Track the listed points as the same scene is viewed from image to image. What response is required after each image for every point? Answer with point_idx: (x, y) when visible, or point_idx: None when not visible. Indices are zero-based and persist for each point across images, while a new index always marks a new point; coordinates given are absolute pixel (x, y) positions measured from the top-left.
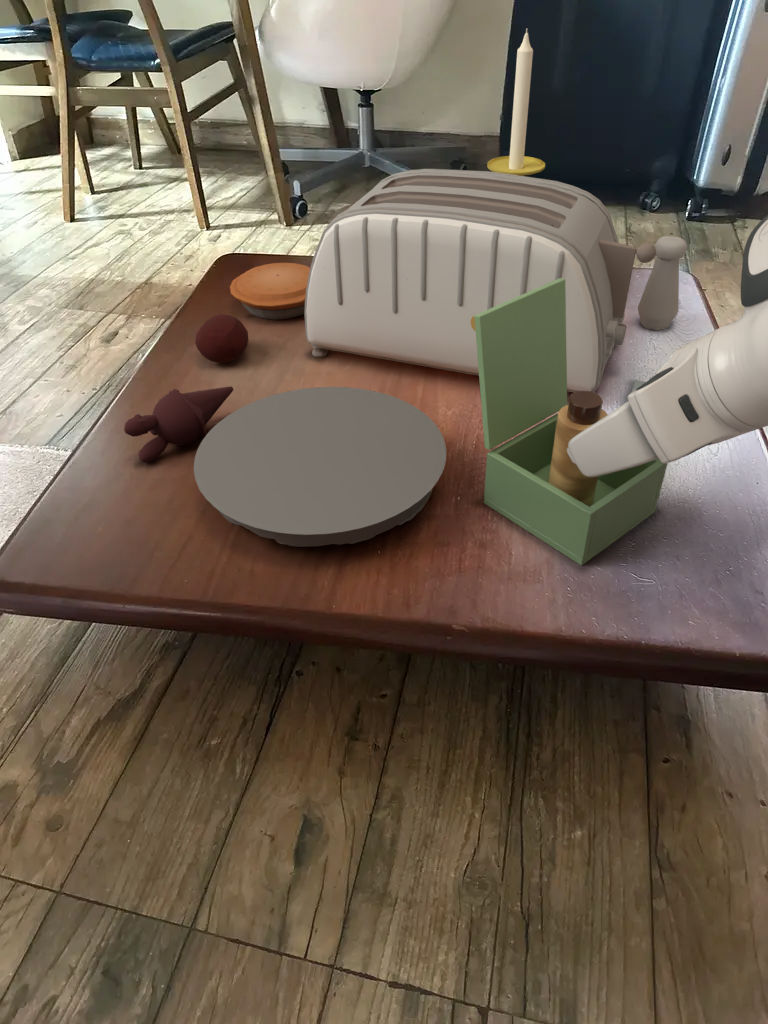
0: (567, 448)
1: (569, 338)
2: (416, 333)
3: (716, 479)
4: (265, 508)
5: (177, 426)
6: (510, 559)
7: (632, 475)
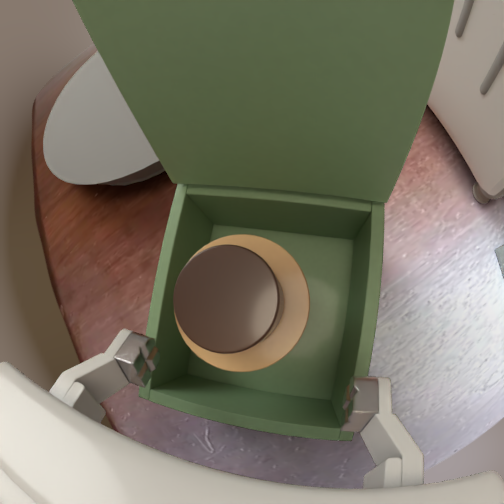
0: (123, 329)
1: (500, 115)
2: None
3: (443, 420)
4: (61, 115)
5: None
6: (144, 304)
7: (342, 377)
